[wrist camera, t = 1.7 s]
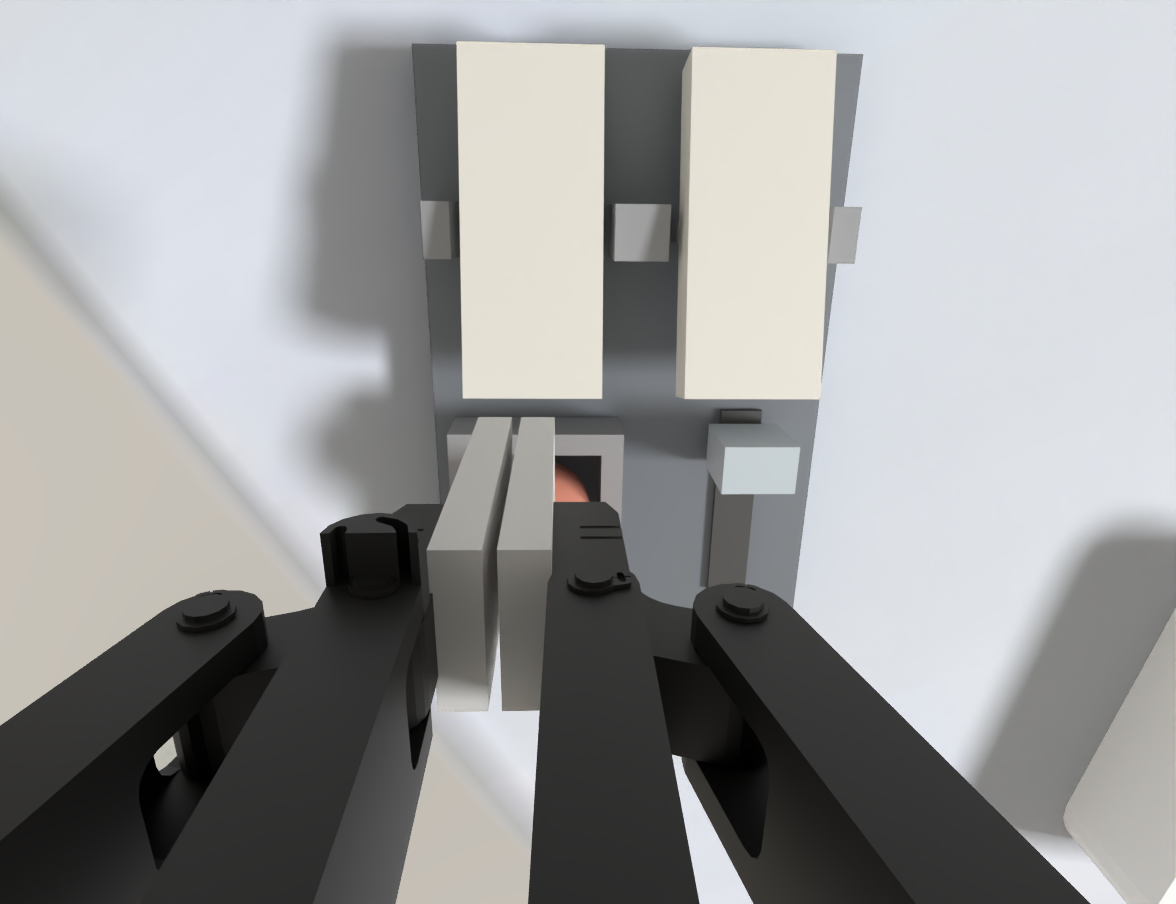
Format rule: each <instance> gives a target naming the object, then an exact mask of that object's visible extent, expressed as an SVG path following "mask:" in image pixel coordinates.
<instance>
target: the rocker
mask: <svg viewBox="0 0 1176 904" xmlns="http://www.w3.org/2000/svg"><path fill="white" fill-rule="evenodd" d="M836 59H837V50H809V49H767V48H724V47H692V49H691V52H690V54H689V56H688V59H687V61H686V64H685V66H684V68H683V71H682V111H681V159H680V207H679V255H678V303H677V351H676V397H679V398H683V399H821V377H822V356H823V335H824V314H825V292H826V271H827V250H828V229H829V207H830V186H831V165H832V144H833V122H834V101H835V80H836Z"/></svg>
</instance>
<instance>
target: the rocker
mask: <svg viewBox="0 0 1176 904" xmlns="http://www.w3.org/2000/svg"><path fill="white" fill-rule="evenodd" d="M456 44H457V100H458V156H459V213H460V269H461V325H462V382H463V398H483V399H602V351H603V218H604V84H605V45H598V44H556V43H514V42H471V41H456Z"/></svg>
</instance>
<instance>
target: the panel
mask: <svg viewBox="0 0 1176 904" xmlns="http://www.w3.org/2000/svg"><path fill="white" fill-rule="evenodd" d="M690 52H691V50H659V49H617V48H605V84H604V218H603V351H602V399H483V398H463V382H462V325H461V269H460V213H459V156H458V100H457V45H447V44H412V54H413V70H414V87H415V103H416V119H417V135H418V151H419V167H420V184H421V200H422V201H420V209H421V225H422V241H423V257H424V259H425V264H426V281H427V297H428V313H429V329H430V345H431V362H432V378H433V394H434V410H435V426H436V442H437V459H438V475H439V491H440V504H445V502H446V499H447V497H448V494H449V491H450V489H451V486H452V484H453V481H454V479H455V476H456V474H457V471H458V468H459V466H460V463H461V461H462V458H463V456H464V453H465V450H466V448H467V445H468V443H469V440H470V438H471V435H472V433H473V430H474V427H475V425H476V422H477V420H478V417H512V442H513V460H514V454H515V449H516V443H517V438H518V432H519V427H520V422H521V417H555V462H557V463H559V464H561V465H564V466H565V467H567V468H568V469H570V470H571V471H572V472H574V473H575V474H576V475H577V476H578V477H579V478H580V480H581V481H582V483H583V484H584V486H585V488H586V490H587V493H588V495H589V500H590V502H606V503H607V504H609V505H610V506H611V507H612V508H613V509H614V510H616V511H617V512H618V514H619V519H620V524H621V529H622V534H623V539H624V545H625V550H626V555H627V560H628V565H629V570H630V572H631V573H633V574H635V576H636V578H637V580H638V581H639V583H640V588H641V592H642V593H643V594H645V595H647V596H648V597H650V598H652V599H655V600H657V601H660V602H663V603H667V604H671V605H675V606H680V607H686V608H692V609H693V602H694V600H695V597H696V595H697V594H698V593H700V592H701V591H702V590H704V589H705V588H707V587H711V586H715V585H719V584H733V583H745V585H747V584H750V585H755V586H758V587H759V588H762V589H765V590H767V591H770V592H772V593H774V594H776V595H777V596H779V597H780V598H781V599H783V600H784V601H786V602H787V603H788V604H789V605H790V606H791V607H792V608H793V603H794V595H795V587H796V579H797V571H798V563H799V556H800V548H801V540H802V532H803V524H804V516H805V508H806V500H807V492H808V485H809V477H810V469H811V461H812V453H813V445H814V437H815V429H816V422H817V414H818V406H819V399H683V398H679V397H676V351H677V303H678V255H679V207H680V159H681V111H682V71H683V68H684V66H685V64H686V61H687V59H688V56H689V54H690ZM862 59H863V54H837V59H836V80H835V101H834V122H833V144H832V165H831V186H830V207H829V229H828V250H827V271H826V292H825V314H824V335H823V356H822V374H823V366H824V358H825V351H826V343H827V335H828V327H829V319H830V311H831V303H832V295H833V288H834V280H835V272H836V264H854V262H855V254H856V247H857V239H858V232H859V225H860V217H861V210H862V207H844V201H845V193H846V185H847V177H848V169H849V161H850V154H851V146H852V138H853V130H854V122H855V114H856V106H857V98H858V90H859V83H860V75H861V67H862ZM821 382H822V377H821ZM709 424H777V425H778V426H779V427H780V428H781V429H782V430H783V431H784V432H785V433H786V434H787V435H788V436H789V437H790V438H791V439H792V440H793V441H794V442H795V443H796V444H798V445H799V446H800V455H799V463H798V472H797V480H796V488H795V494H721V492H720V491H719V489H718V487H717V485H716V484H715V482H714V480H713V478H712V477H711V475H710V473H709V471H708V470H707V468H706V457H707V443H708V430H709Z"/></svg>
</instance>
